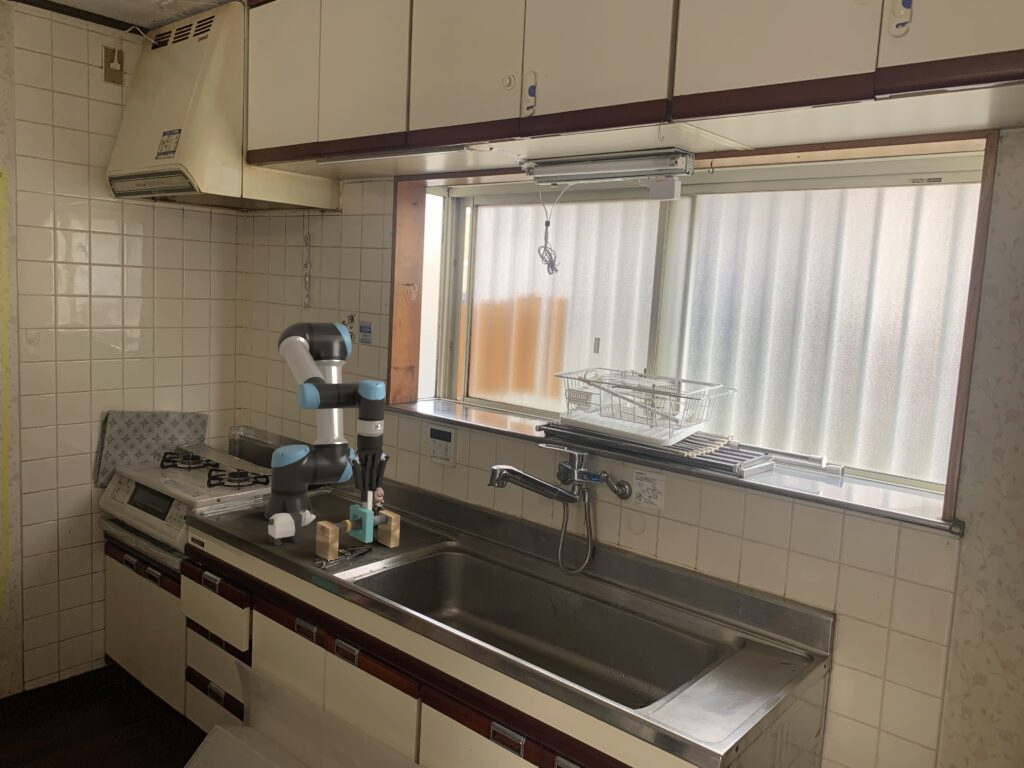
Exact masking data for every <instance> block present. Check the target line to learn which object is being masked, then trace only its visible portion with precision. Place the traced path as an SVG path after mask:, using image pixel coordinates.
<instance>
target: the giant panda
mask: <svg viewBox="0 0 1024 768" xmlns="http://www.w3.org/2000/svg"><path fill="white" fill-rule="evenodd" d="M316 517H317V516H316V514H313V513H312V514H311V513H310V512H309V511H308V510H306V509H304V510H303V508H301V512H300V513H279V514H275V515H273V516H272V517H271V518H270V520H268V527H267V531H268V538H269V543H271V542H273V545H274V546H275V545H278V546H281V544H283V542H282V541H281V539H282V538H288V540H292V542H293V543H295V542H296V543H302V541H303V540H302V539H301V532H302V527H304V526H308V525H309V524H310V523H312V522H313V521H314V520H315V519H316Z"/></svg>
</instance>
